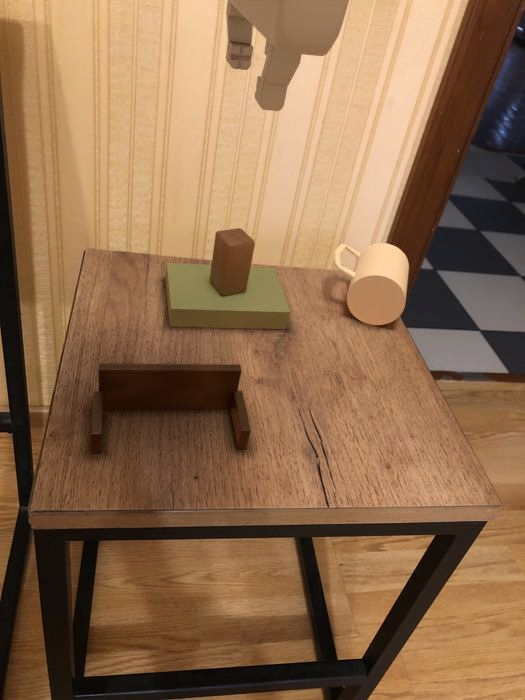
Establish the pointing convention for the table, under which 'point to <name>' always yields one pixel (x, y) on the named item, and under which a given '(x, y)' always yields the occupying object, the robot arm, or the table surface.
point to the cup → (376, 282)
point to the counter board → (224, 300)
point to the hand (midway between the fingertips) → (251, 85)
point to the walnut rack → (169, 392)
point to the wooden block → (231, 261)
